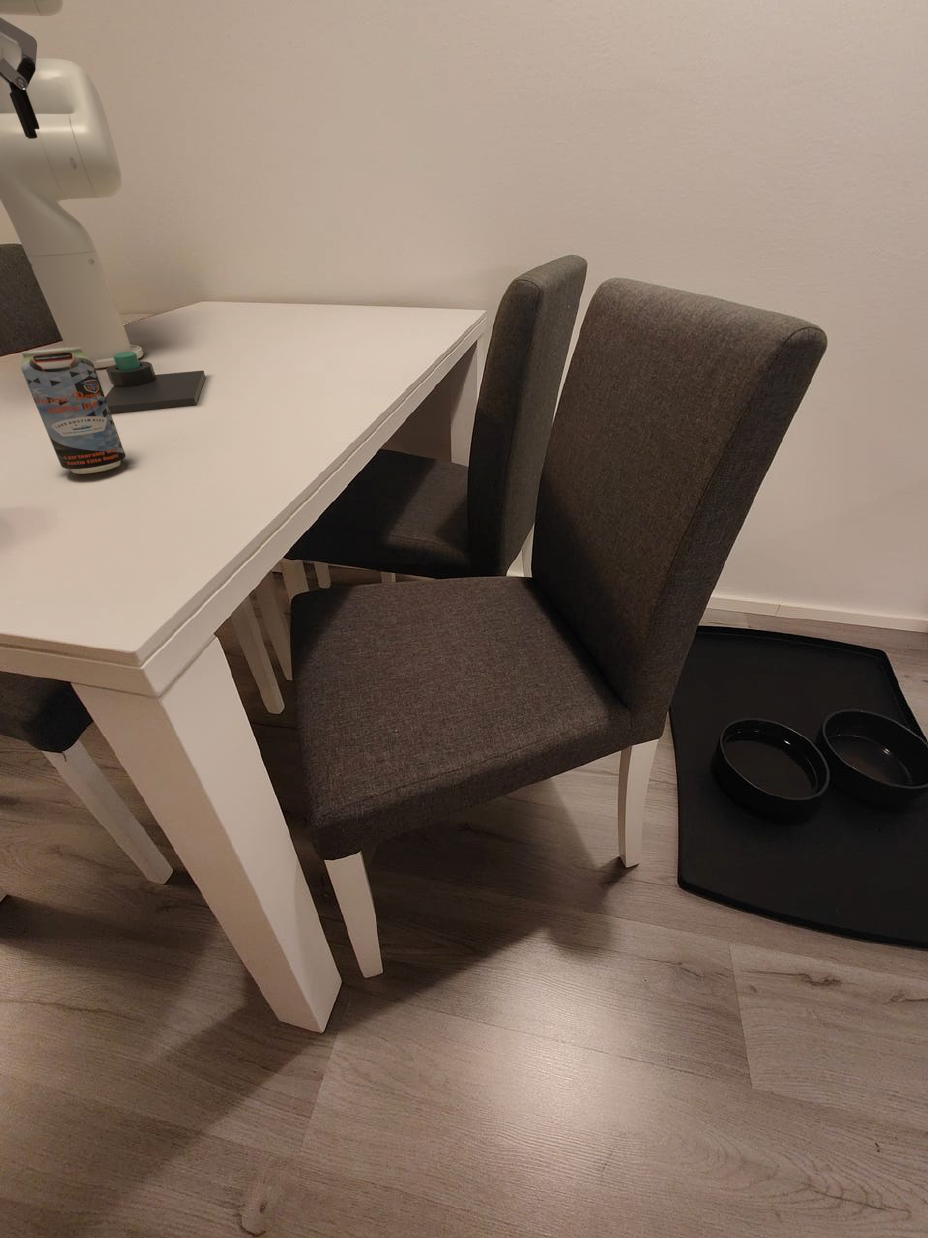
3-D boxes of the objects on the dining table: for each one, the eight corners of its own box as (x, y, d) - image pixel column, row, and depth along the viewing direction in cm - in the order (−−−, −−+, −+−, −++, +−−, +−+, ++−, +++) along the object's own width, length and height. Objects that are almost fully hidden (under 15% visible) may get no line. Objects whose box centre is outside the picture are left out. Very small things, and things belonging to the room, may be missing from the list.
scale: (119, 384, 86) (111, 363, 84) (205, 376, 88) (199, 355, 86) (96, 415, 75) (87, 391, 73) (196, 405, 77) (189, 382, 75)
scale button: (120, 367, 83) (115, 352, 82) (142, 365, 84) (137, 350, 82) (116, 372, 81) (110, 357, 80) (139, 370, 81) (133, 355, 80)
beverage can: (63, 486, 57) (0, 360, 50) (71, 460, 63) (15, 343, 55) (131, 474, 59) (80, 352, 52) (132, 450, 65) (86, 335, 57)
